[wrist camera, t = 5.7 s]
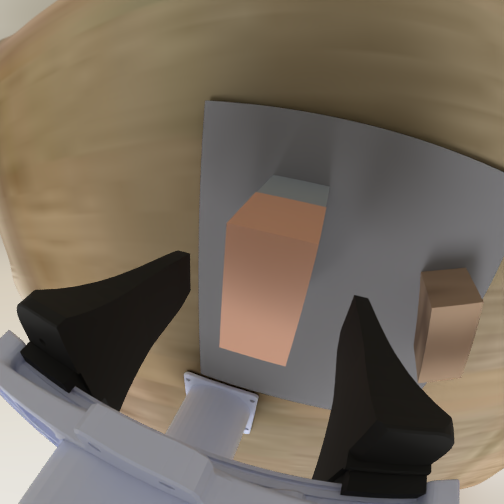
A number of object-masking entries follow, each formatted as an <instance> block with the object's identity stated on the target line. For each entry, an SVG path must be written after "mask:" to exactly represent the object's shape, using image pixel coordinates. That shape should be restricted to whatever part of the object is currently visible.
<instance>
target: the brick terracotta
mask: <svg viewBox="0 0 504 504" xmlns="http://www.w3.org/2000/svg"><path fill="white" fill-rule="evenodd" d="M325 212H326V207H323V206H319V205H314V204H310V203H306V202H301V201H297V200H292V199H288V198H283V197H278V196H273V195H269V194H264V193H259V192H255V193H254V194H253V195H252V196H251V198H250V199H249V200H248V201H247V202H246V203H245V204H244V205H243V206H242V207H241V208H240V209H239V210H238V211H237V212H236V214H235V215H234V216H233V217H232V218H231V219H230V220H229V221H228V222H227V226H226V240H225V255H224V271H223V287H222V305H221V324H220V344H219V347H220V348H224V349H227V350H230V351H233V352H236V353H240V354H243V355H246V356H250V357H253V358H256V359H260V360H263V361H267V362H271V363H274V364H278V365H282V366H286V363H287V360H288V356H289V353H290V350H291V346H292V343H293V340H294V336H295V333H296V329H297V326H298V322H299V319H300V315H301V312H302V308H303V304H304V301H305V297H306V293H307V289H308V286H309V282H310V278H311V274H312V270H313V266H314V262H315V258H316V254H317V250H318V246H319V241H320V237H321V232H322V227H323V222H324V217H325Z"/></svg>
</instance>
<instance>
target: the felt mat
mask: <svg viewBox="0 0 504 504" xmlns="http://www.w3.org/2000/svg"><path fill="white" fill-rule="evenodd" d="M273 175H277V176H282V177H287V178H292V179H297V180H302V181H306V182H311V183H316V184H320V185H325V186H329V187H330V188H329V194H328V199H327V204H326V212H325V217H324V222H323V227H322V232H321V237H320V241H319V246H318V250H317V254H316V258H315V262H314V266H313V270H312V274H311V278H310V282H309V286H308V289H307V293H306V297H305V301H304V304H303V308H302V312H301V315H300V319H299V322H298V326H297V329H296V333H295V336H294V340H293V343H292V346H291V350H290V353H289V356H288V360H287V363H286V366H282V365H278V364H274V363H271V362H267V361H263V360H260V359H256V358H253V357H250V356H246V355H243V354H240V353H236V352H233V351H230V350H227V349H224V348H220V347H219V344H220V324H221V305H222V287H223V271H224V255H225V240H226V226H227V222H228V221H229V220H230V219H231V218H232V217H233V216H234V215H235V214H236V212H237V211H238V210H239V209H240V208H241V207H242V206H243V205H244V204H245V203H246V202H247V201H248V200H249V199H250V198H251V196H252V195H253V194H254V193H255V192H257V191H258V190H259V189H260V188H261V187H262V186H263V185H264V184H265V183H266V182H267V181H268V180H269V179H270V178H271V177H272V176H273ZM503 257H504V172H502V171H500V170H498V169H496V168H494V167H491V166H489V165H487V164H484V163H482V162H480V161H477V160H475V159H472V158H470V157H468V156H465V155H462V154H460V153H457V152H455V151H452V150H449V149H446V148H444V147H441V146H438V145H435V144H432V143H429V142H426V141H423V140H420V139H417V138H414V137H411V136H407V135H404V134H401V133H397V132H394V131H390V130H387V129H383V128H379V127H375V126H371V125H367V124H363V123H359V122H355V121H350V120H346V119H341V118H337V117H332V116H327V115H322V114H316V113H311V112H305V111H299V110H293V109H286V108H279V107H272V106H264V105H255V104H246V103H235V102H223V101H205V110H204V124H203V140H202V158H201V180H200V210H199V337H200V366H201V374H203V375H206V376H209V377H212V378H214V379H217V380H220V381H223V382H227V383H230V384H233V385H236V386H239V387H242V388H246V389H249V390H252V391H256V392H259V393H263V394H267V395H270V396H274V397H278V398H281V399H285V400H289V401H293V402H298V403H302V404H306V405H310V406H315V407H320V408H324V409H329V410H331V408H332V404H333V396H334V386H335V372H336V357H337V348H338V342H339V336H340V331H341V328H342V326H343V323H344V320H345V318H346V315H347V313H348V310H349V308H350V305H351V302H352V300H353V297H354V295H357V296H361V297H366V298H368V299H369V301H370V303H371V305H372V307H373V310H374V312H375V314H376V316H377V319H378V321H379V323H380V325H381V327H382V329H383V331H384V333H385V335H386V337H387V339H388V341H389V343H390V345H391V347H392V348H393V350H394V352H395V354H396V355H397V357H398V358H399V360H400V361H401V363H402V364H403V366H404V367H405V369H406V370H407V371H408V373H409V374H410V375H411V377H412V378H413V379H414V380H415V382H416V383H417V384H418V385H419V386H420V388H421V389H422V388H423V387H424V386H425V384H426V383H427V382H425V383H418V380H417V370H416V361H415V353H414V346H413V345H414V338H415V331H416V323H417V314H418V304H419V292H420V278H421V272H424V271H435V270H446V269H457V268H466V269H467V271H468V272H469V274H470V276H471V278H472V280H473V282H474V284H475V286H476V288H477V290H478V292H479V294H480V296H481V298H482V299H483V297H484V295H485V293H486V291H487V289H488V288H489V286H490V284H491V282H492V280H493V278H494V276H495V274H496V272H497V270H498V267H499V265H500V263H501V261H502V259H503Z"/></svg>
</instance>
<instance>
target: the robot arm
mask: <svg viewBox="0 0 504 504" xmlns="http://www.w3.org/2000/svg"><path fill="white" fill-rule="evenodd" d="M190 290H191V289H190V254H189V253H185V252H182V251H175V252H172V253H170V254H168V255H165V256H163V257H161V258H158V259H156V260H154V261H152V262H149V263H147V264H145V265H143V266H140V267H138V268H136V269H133V270H131V271H128V272H126V273H123V274H121V275H118V276H115V277H112V278H109V279H105V280H102V281H98V282H94V283H90V284H85V285H81V286H75V287H69V288H61V289H45V290H34V291H33V292H32V293H31V294H30V295H29V296H27V297H26V298H25V299H24V300H23V301H22V302H20V303H19V304H18V306H17V313H18V317H19V320H20V322H21V324H22V326H23V328H24V330H25V332H26V334H27V336H28V338H29V340H30V342H29V343H28V344H27V345H25V343H24V342H23V341H22V340H21V339H20V338H19V337H17V336H16V335H15V334H14V333H13V332H11V331H10V330H8V331H7V332H6V333H5V334H4V335H3V336H2V337H1V338H0V395H1V396H2V397H3V398H4V399H5V400H6V401H7V402H8V403H9V404H10V405H11V406H12V407H13V408H14V409H15V410H16V411H17V412H18V413H19V414H20V415H21V416H22V417H23V418H25V420H27V421H28V422H29V423H30V424H31V425H32V426H33V427H34V428H36V430H38V431H39V432H40V433H41V434H42V435H43V436H45V437H46V438H47V439H48V440H49V441H51V442H52V443H53V444H54V445H55V446H57V449H56V450H55V451H54V453H53V455H52V456H51V457H50V458H49V460H48V461H47V463H46V464H45V466H44V467H43V468H42V470H41V471H40V473H39V474H38V476H37V477H36V479H35V480H34V481H33V483H32V484H31V486H30V487H29V489H28V490H27V492H26V493H25V495H24V496H23V498H22V499H21V500H20V502H19V504H459V480H458V479H452V480H436V481H430V482H427V475H429V474H430V473H431V464H432V463H434V462H435V461H436V460H438V459H439V458H441V457H442V456H443V455H445V454H446V453H447V452H448V451H449V450H450V449H451V448H452V446H453V445H454V429H453V422H452V418H451V417H450V416H449V415H448V414H447V413H446V412H445V411H444V410H442V409H441V408H440V407H439V406H438V405H437V404H436V403H435V402H434V401H433V400H432V399H431V398H430V397H429V396H428V395H427V394H426V393H425V392H424V391H423V390H422V389H421V388H420V386H419V385H418V384H417V383H416V382H415V380H414V379H413V378H412V377H411V375H410V374H409V373H408V371H407V370H406V369H405V367H404V366H403V364H402V363H401V361H400V360H399V358H398V357H397V355H396V354H395V352H394V350H393V348H392V347H391V345H390V343H389V341H388V339H387V337H386V335H385V333H384V331H383V329H382V327H381V325H380V323H379V321H378V319H377V316H376V314H375V312H374V310H373V307H372V305H371V303H370V301H369V299H368V298H366V297H361V296H357V295H354V297H353V300H352V302H351V305H350V308H349V310H348V313H347V315H346V318H345V320H344V323H343V326H342V328H341V331H340V336H339V342H338V348H337V357H336V372H335V386H334V396H333V404H332V408H331V413H330V418H329V422H328V426H327V430H326V434H325V438H324V442H323V445H322V449H321V452H320V456H319V459H318V462H317V465H316V468H315V471H314V474H313V477H312V479H308V478H303V477H297V476H293V475H288V474H283V473H279V472H275V471H271V470H267V469H263V468H259V467H255V466H252V465H248V464H245V463H242V462H238V461H235V460H233V458H234V455H235V453H236V450H237V448H238V445H239V443H240V440H241V438H242V435H243V433H245V434H249V433H250V431H251V427H252V423H253V419H254V415H255V410H256V406H257V402H258V398H259V397H258V395H257V394H255V393H251V392H248V391H245V390H241V389H238V388H235V387H232V386H229V385H225V384H222V383H219V382H216V381H213V380H211V379H208V378H205V377H202V376H199V375H196V374H194V373H191V372H185V373H184V381H185V389H186V397H185V399H184V401H183V403H182V404H181V406H180V408H179V410H178V412H177V413H176V415H175V417H174V419H173V421H172V422H171V424H170V426H169V428H168V429H167V431H166V433H165V434H163V433H161V432H159V431H157V430H154V429H152V428H150V427H148V426H146V425H144V424H142V423H140V422H138V421H136V420H134V419H132V418H130V417H128V416H126V415H124V414H122V413H120V412H119V411H120V409H121V407H122V404H123V402H124V399H125V397H126V395H127V393H128V390H129V388H130V386H131V384H132V382H133V380H134V378H135V376H136V374H137V372H138V370H139V368H140V366H141V364H142V363H143V361H144V359H145V357H146V356H147V354H148V352H149V350H150V349H151V347H152V346H153V344H154V343H155V341H156V340H157V339H158V337H159V336H160V335H161V333H162V332H163V331H164V330H165V328H166V327H167V326H168V324H169V323H170V322H171V320H172V319H173V318H174V316H175V315H176V314H177V312H178V311H179V310H180V308H181V307H182V305H183V303H184V302H185V300H186V298H187V296H188V294H189V292H190Z"/></svg>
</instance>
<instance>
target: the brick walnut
mask: <svg viewBox="0 0 504 504" xmlns="http://www.w3.org/2000/svg"><path fill="white" fill-rule="evenodd" d="M482 307H483V300H482V298H481V296H480V294H479V292H478V290H477V288H476V286H475V284H474V282H473V280H472V278H471V276H470V274H469V272H468V271H467V269H466V268H457V269H446V270H435V271H424V272H421V278H420V292H419V304H418V314H417V323H416V331H415V338H414V345H413V346H414V353H415V361H416V370H417V380H418V383H425V382H434V381H442V380H450V379H457V378H461V376H462V374H463V371H464V368H465V365H466V362H467V359H468V356H469V353H470V350H471V347H472V344H473V340H474V337H475V334H476V330H477V326H478V323H479V319H480V315H481V311H482Z"/></svg>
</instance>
